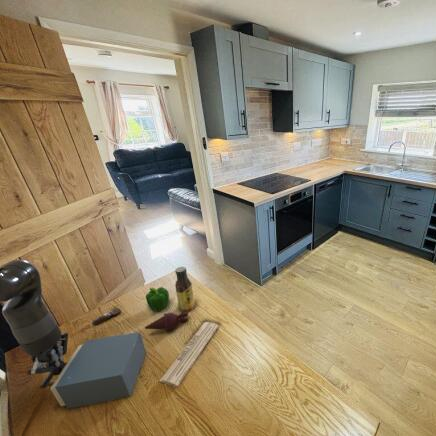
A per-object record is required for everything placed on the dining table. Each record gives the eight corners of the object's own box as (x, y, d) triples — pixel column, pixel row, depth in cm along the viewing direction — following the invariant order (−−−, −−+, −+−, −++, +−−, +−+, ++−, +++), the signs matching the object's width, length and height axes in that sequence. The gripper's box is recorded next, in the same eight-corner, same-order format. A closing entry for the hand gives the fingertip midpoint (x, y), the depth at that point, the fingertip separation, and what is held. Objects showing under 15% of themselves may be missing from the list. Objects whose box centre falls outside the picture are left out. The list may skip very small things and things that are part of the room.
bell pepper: (174, 304, 104) (170, 286, 100) (156, 316, 98) (151, 298, 94) (163, 297, 108) (159, 279, 104) (145, 308, 102) (140, 290, 98)
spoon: (94, 327, 92) (92, 323, 92) (91, 323, 94) (90, 319, 93) (122, 313, 99) (121, 309, 98) (119, 309, 101) (118, 305, 100)
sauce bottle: (191, 313, 100) (184, 274, 92) (177, 313, 100) (168, 274, 92) (197, 302, 106) (191, 265, 98) (184, 302, 106) (176, 264, 98)
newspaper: (178, 387, 73) (177, 384, 72) (158, 381, 74) (157, 377, 74) (218, 327, 94) (218, 324, 93) (203, 323, 95) (202, 320, 95)
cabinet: (67, 409, 67) (54, 387, 63) (94, 360, 80) (85, 340, 76) (130, 396, 70) (121, 374, 66) (146, 351, 84) (139, 331, 80)
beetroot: (143, 331, 84) (189, 320, 91) (143, 313, 89) (186, 303, 96) (145, 342, 87) (189, 329, 94) (145, 324, 93) (187, 313, 100)
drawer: (38, 411, 66) (26, 393, 62) (68, 364, 78) (59, 348, 75) (119, 394, 70) (111, 377, 67) (135, 353, 82) (130, 336, 79)
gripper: (38, 313, 69) (60, 354, 75) (-2, 355, 57) (28, 399, 64) (68, 309, 70) (87, 350, 77) (35, 349, 58) (61, 392, 65)
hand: (61, 372), depth 70 cm, fingers closed
